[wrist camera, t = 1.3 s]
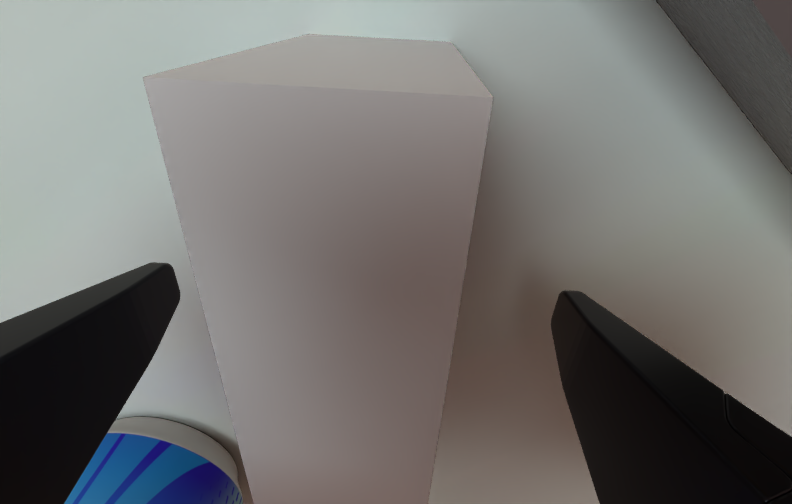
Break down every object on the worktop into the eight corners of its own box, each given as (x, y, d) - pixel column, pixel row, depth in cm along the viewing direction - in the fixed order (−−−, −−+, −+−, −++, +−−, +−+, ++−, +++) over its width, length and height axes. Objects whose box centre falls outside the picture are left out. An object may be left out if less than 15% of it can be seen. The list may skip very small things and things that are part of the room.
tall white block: (309, 33, 10) (141, 76, 4) (450, 41, 10) (493, 97, 4) (326, 335, 15) (265, 548, 9) (420, 342, 15) (418, 561, 9)
